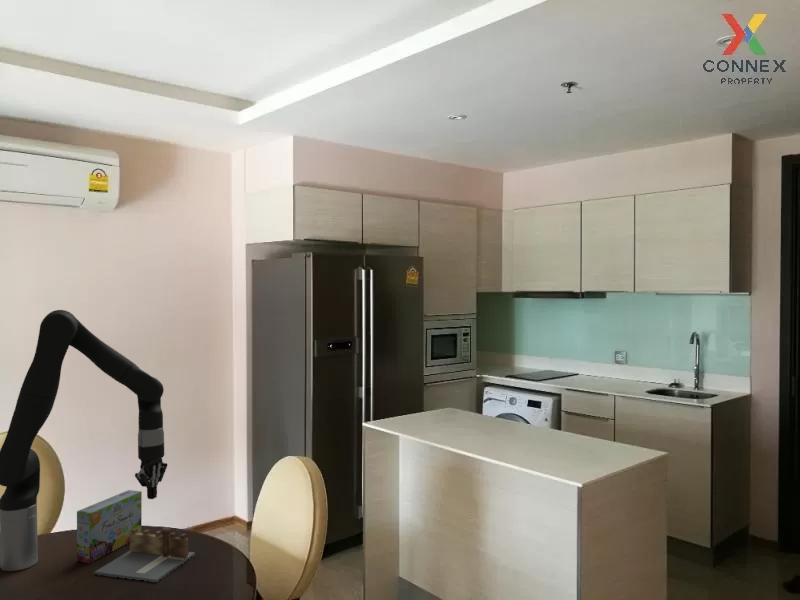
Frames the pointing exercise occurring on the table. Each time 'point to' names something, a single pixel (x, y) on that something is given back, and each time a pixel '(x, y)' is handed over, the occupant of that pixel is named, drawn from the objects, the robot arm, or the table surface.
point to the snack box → (107, 525)
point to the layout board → (142, 566)
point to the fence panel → (146, 542)
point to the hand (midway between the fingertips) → (152, 498)
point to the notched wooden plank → (174, 544)
